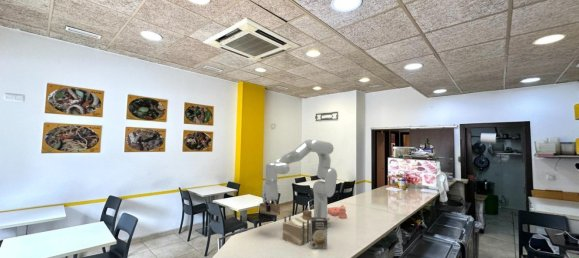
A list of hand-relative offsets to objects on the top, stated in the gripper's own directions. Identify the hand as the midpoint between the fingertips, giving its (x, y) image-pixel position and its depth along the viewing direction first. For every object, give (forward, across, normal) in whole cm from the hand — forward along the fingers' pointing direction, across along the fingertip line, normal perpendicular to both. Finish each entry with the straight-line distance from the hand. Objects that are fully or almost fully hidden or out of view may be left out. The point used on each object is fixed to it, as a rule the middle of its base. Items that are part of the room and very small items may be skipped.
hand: (270, 210), depth 155 cm
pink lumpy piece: (+15, -68, +11) cm, 70 cm away
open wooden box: (+15, -11, +17) cm, 26 cm away
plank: (+2, 0, 0) cm, 2 cm away
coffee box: (+16, -7, +33) cm, 37 cm away
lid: (+6, -11, +17) cm, 21 cm away
